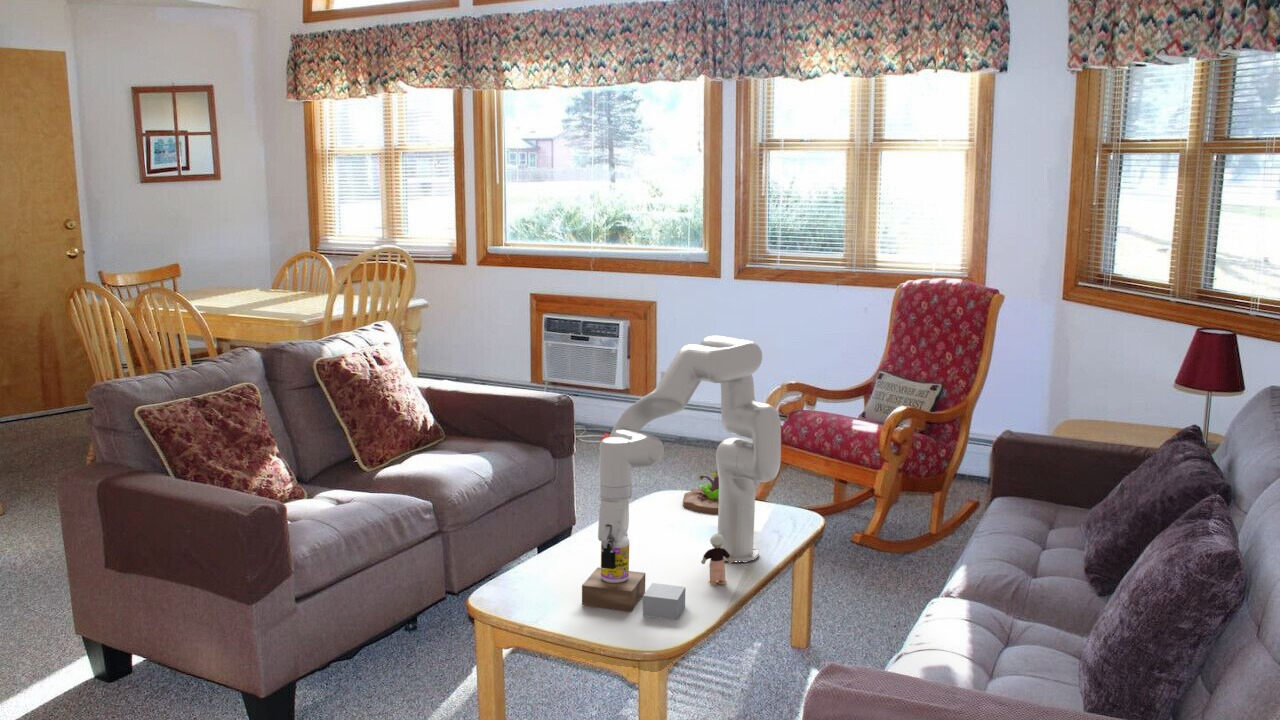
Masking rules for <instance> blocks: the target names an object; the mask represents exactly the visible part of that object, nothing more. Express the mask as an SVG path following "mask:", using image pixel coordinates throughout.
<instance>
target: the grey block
mask: <svg viewBox="0 0 1280 720" xmlns="http://www.w3.org/2000/svg"><path fill="white" fill-rule="evenodd" d="M642 599H643V602H642V616H643V617H652V618H659V619H667V620H675V621H678V620H679V617H680V616H681V614H682V612H683V610H684V609H685V608H686V586H681V585H674V584H673V585H672V584H666V583H665V584H664V583H657V582H652V583H651V584H650V585H649V586H648V588H647V590H645V594H644V595H643V596H642Z"/></svg>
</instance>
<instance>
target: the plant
mask: <svg viewBox="0 0 1280 720" xmlns="http://www.w3.org/2000/svg"><path fill="white" fill-rule="evenodd" d="M711 476H712V477H713V478H714V480H713V479H712V478H711V477H710V476H708V475H699V476H698V479H699V481H702V480H703V479H705V478H706V480H708V481H709V482H710V484H709V483H707V482H705V485H702V484H698V486H699V487H700V488H692V489H691V490H690V491H687V492H686V493H684V495H683V500H682V507H684V509H687V510H690V509H691V511H693V512H696V511H697V512H696V513H701V512H702V513H701V514H709V515H717V514H718V506H719V475H718V470H714V471H713V472H712V475H711Z"/></svg>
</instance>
